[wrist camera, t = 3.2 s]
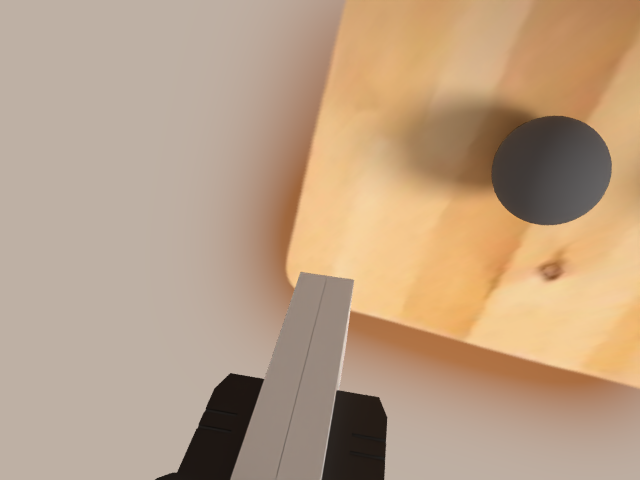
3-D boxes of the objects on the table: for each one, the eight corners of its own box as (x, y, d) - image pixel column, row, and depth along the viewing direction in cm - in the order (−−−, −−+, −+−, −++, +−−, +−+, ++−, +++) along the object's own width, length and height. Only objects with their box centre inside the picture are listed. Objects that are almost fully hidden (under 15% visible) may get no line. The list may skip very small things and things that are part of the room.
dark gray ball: (499, 97, 26) (518, 130, 21) (606, 108, 25) (651, 145, 20) (475, 190, 28) (487, 236, 24) (571, 202, 28) (603, 252, 23)
